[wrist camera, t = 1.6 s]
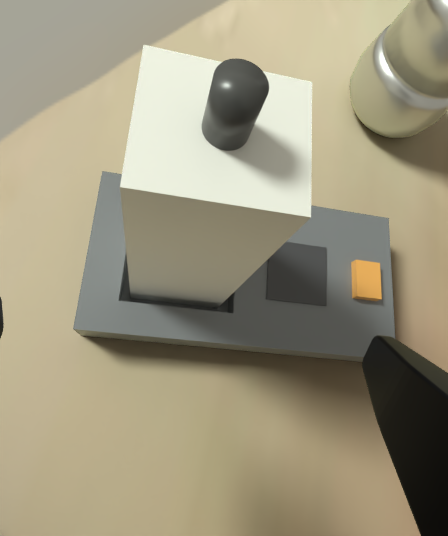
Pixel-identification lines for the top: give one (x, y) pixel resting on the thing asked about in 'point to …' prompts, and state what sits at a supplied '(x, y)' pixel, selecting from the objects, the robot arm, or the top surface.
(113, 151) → the top surface
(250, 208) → the charger
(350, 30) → the top surface
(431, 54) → the plastic bottle
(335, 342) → the power strip
